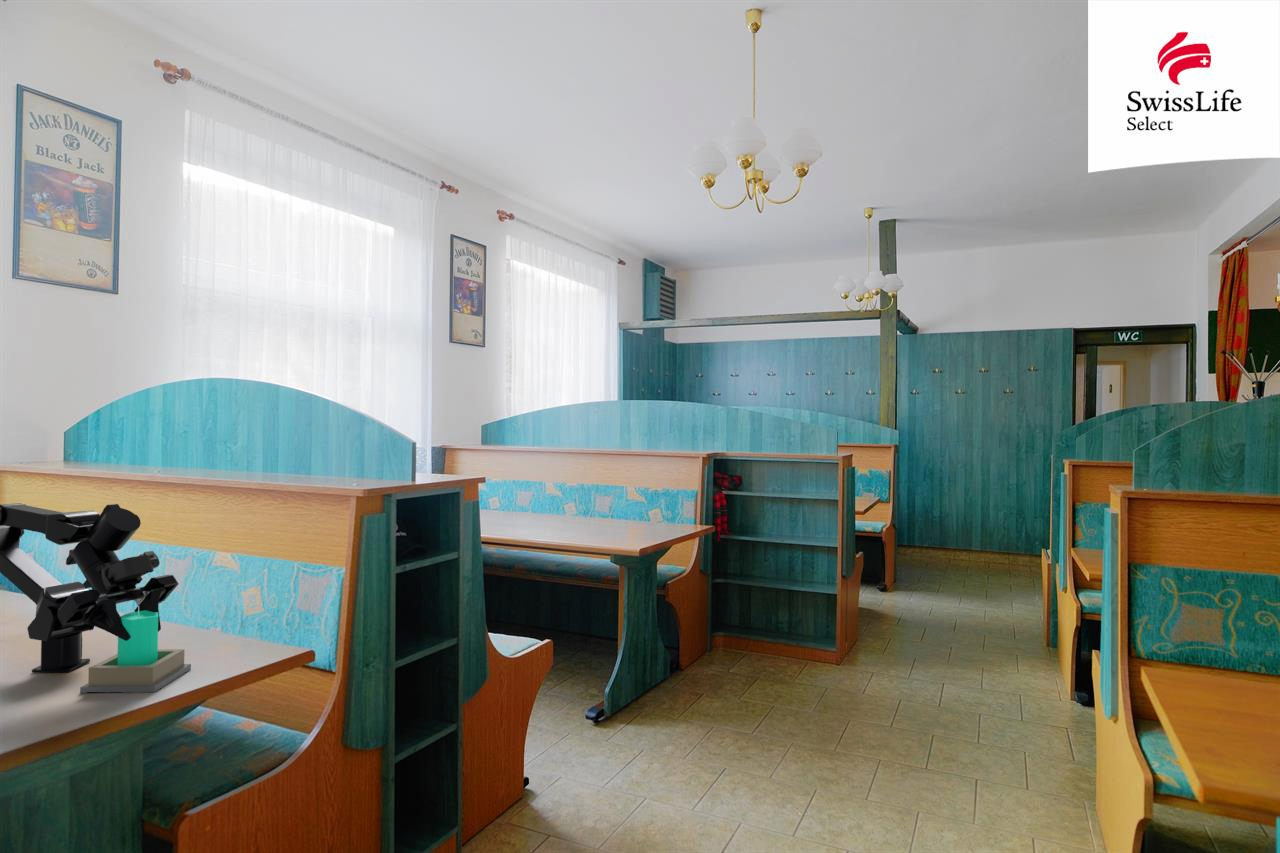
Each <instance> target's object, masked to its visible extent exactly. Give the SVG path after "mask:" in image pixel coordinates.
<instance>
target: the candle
mask: <svg viewBox="0 0 1280 853" xmlns="http://www.w3.org/2000/svg"><path fill="white" fill-rule="evenodd" d="M137 607H138V611H137V612H135V611H133V612H128V613H125V614H122V615H120V617H121V621H122V624H123V626H124V627H125V629H126V630H127V632H128V633H129V635H130V636H131V638H130V639H129V640H127V641H125V640H123V639H121V638H119V637H117V654H118V666H122V665H151V664H153V663H154V662H156V661H158V650H159V648H158V647H159V646H158V645H159V644H158V643H159V632H158V612H150V611H146V610H144V611H139V606H138V605H137Z"/></svg>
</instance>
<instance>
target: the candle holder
mask: <svg viewBox="0 0 1280 853" xmlns="http://www.w3.org/2000/svg"><path fill="white" fill-rule="evenodd" d="M190 670H192V664H191V663H185V648H184V649H177V648H176V649H175V648H173V649H172V648H171V649H158V661H156V662H154V663H153V664H151V665H122V666H118V653H117V654H114V655H112V656H110V657H108V658H106V659H104V660H103V661H100V662H98V663H96V664H94V665H92V666H90V667H88V678H87V679H88V683H86V684H84V685H82V686H80V687H79V688H80V691H79V694H88V693H87V692H132V693H155V692H157V691H159V690H160V688H161V689H162V688H164V687H165V686H168V684H170V683H172V682H173V681H175V680H176V679H178V678H179V676H180V677H181V676H183V675H184V674H186V673H188V672H189V671H190ZM185 672H186V673H185ZM182 674H183V675H182ZM174 679H175V680H174ZM171 681H172V682H171ZM163 686H164V687H163Z"/></svg>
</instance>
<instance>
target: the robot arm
mask: <svg viewBox="0 0 1280 853" xmlns="http://www.w3.org/2000/svg"><path fill="white" fill-rule="evenodd" d="M140 527H141V519H140V517H139V516H138V515H137V514H136V513H134V512H132V511H131V510H130V509H129V510H128V509H126V508H123V507H121V506H120V505H119V503H113V504H106V505H105V507H104V508H103V509H102V511H101V513H99V512H97V511H95V510H80V511H68V512H66V511H65V512H63V511H59V510H58V511H57V510H51V509H47V508H41V507H37V506H30V505H28V504H25V503H21V502H19V503H18V502H17V503H8V504H7V503H6V504H5V503H4V504H0V574H1V575H3V576H4V577H5V578H6V579H7V580H8V581H10V582H11V583H12V584H13V585H14V586H15V587H16V588H17V589H18V590H19V591H21V592H22V594H24V595H25V596H26V597H28V598H29V600H31V601H32V602H33V603H34V604H35V605H36V610H35V617H34V619H33V620H32V621H31V623H29V625H28V626H27V628H26V629H27V633H28V637H29V639H30V640H34V641H40V643H41V644H40V665H38V666H36V667H35V668H32V669H31V673H68V672H71V671H73V670H75V669H77V668H79V667H81V666H84V665H86V664H87V663H90V662H91V658H83V632H88V631H93V630H94V628H95V627H96V628H98V629H101V630H103V631H105V632H107V633H108V634H109V633H110V634H112V635H113V636H115V637H117V638H118V637H119V638H121V639H123V640H125V641H127V640H129V639H130V638H131V636H130V635H129V633H128V632H127V630H126V629H125V627H124V626H123V624H122V621H121V615H120V613H119V612H118V610H117V605H118V604H121V603H125V602H130V601H134V602H135V603H136V604H137V607H136V608H135V609H134V611H133V612H137V611H138V606H139V611H144V610H146V611H150V612H158V633H159V632H160V631H161V629H162V628H161V627H162V624H161V618H160V611H159V605H160V604H161V603H163V602H164V601H166V600H167V599H168V597H169V596H170V595H171V593H172V592H173V591H174V590H175V589H176V588H177V587H178V585H179V584H180V583H179V582H178V580H177V579H176V577H175V576H174V575H173V574H163V575H159V576H153V577H151V578H150V579H149V580H148V581H147V583H146V584H145V585H143V586H139V587H137V585H138V584H140V583H141V582H142V581H143V578H142V576H144V575H146V574H148V573H153V572H154V571H155V570H154V569H155V568H158V567H159V566H160V564H161V563H160V559H159V557H158V556H157V554H156V553H155V551H153V550H150V551H144V552H143V553H140V554H139V555H136V556H135V555H134V556H130V557H126V558H124V559H121V560H120V559H119V557H118V555H117V554H116V551H119V550H121V549H122V548H124V547H125V545H126V544H127V543H128V542H129V540H130V539H131V538H132V536H133V535H135V533H136V531H138V529H139V528H140ZM25 530H26V531H31V532H35V533H41V534H43V535H45V539H46V540H48V541H49V542H51V543H54V544H56V545H59V546H64V545H70V544H71V545H72V544H76V545H75V547H74V548H72V549H69V551H68V556H67V557H66V559H65V564H66V566H72V565H76V566H77V567H78V568H79V570H80V571H81V573H82V575H83V577H84V578H85V580H84V582H83V583H82V582H80V581H73V582H69V583H68V582H67V583H61V582H60V581H59V580H57V578H55V577H54V576H53V575H52V574H51V573H49V572H48V571H47V570H46V569H45V568H44V567H43V566H41V565H40V564H39V563H38V562H36V560H34V559H33V558H32V557H31V556H30V555H29V554H28V553H26V552H25V551H23V550H22V549H21V547H20V543H21V542H20V540H21V538H22V537H23V535H25ZM90 588H91V589H90Z"/></svg>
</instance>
